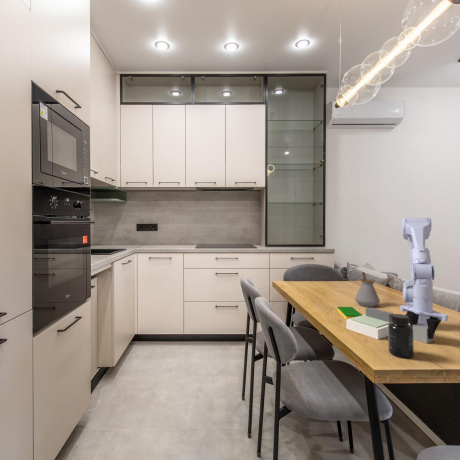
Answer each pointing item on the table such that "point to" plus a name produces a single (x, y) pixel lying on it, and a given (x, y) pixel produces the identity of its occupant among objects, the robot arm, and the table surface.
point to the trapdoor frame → (367, 329)
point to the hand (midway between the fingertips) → (422, 336)
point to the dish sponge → (348, 312)
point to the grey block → (421, 333)
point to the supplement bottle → (400, 336)
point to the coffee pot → (367, 293)
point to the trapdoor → (374, 318)
